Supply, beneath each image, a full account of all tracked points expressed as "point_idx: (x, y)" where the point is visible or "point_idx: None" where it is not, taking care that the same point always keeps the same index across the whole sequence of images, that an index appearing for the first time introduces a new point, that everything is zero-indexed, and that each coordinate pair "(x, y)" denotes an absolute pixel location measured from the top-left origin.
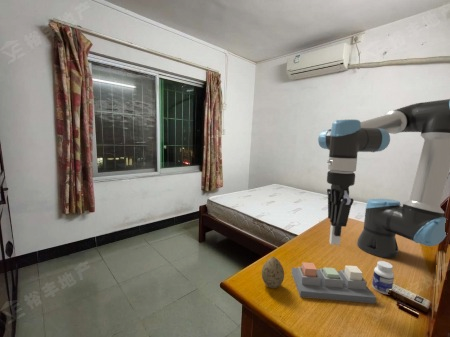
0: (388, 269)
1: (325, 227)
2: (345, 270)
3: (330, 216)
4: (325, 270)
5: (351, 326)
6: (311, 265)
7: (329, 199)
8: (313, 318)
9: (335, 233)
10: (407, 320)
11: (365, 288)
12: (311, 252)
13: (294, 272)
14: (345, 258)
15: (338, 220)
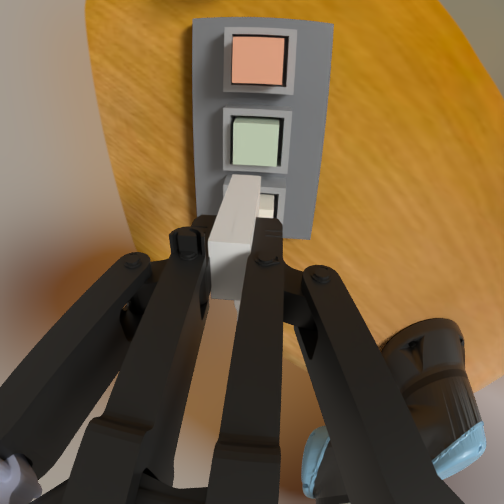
0: (237, 316)
1: None
2: (268, 201)
3: (281, 285)
4: (256, 124)
5: (116, 127)
6: (260, 70)
7: (373, 451)
8: (123, 43)
9: (202, 223)
10: (163, 255)
11: None
12: (454, 165)
13: (301, 23)
14: (405, 257)
15: (99, 288)
